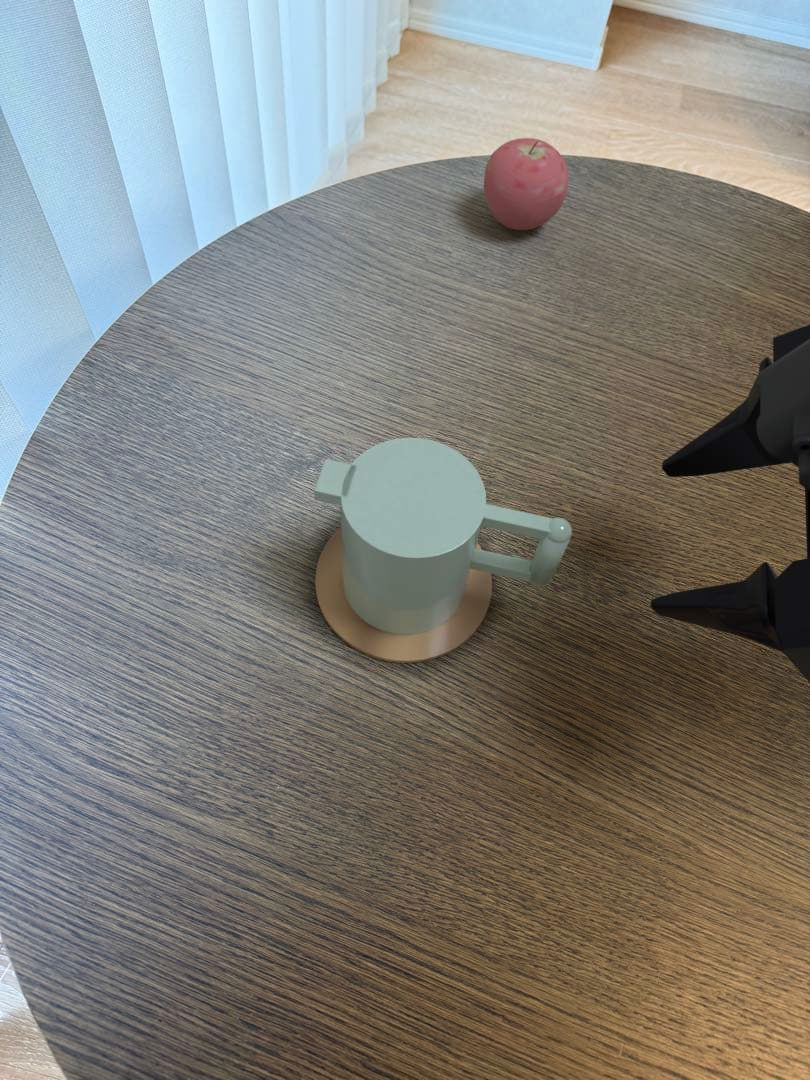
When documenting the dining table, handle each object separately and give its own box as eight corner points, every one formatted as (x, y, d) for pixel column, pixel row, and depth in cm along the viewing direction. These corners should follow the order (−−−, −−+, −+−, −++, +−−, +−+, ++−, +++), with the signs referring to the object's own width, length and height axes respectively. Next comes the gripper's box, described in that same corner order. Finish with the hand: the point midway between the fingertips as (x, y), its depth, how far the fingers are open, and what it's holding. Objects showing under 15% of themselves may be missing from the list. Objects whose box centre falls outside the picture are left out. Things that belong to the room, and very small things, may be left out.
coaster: (510, 536, 58) (511, 533, 58) (463, 687, 52) (464, 685, 52) (351, 488, 60) (351, 485, 60) (288, 629, 54) (287, 627, 53)
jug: (307, 614, 54) (298, 530, 45) (340, 510, 58) (338, 416, 50) (530, 665, 53) (566, 590, 44) (547, 556, 57) (583, 468, 49)
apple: (537, 190, 79) (555, 110, 73) (569, 239, 76) (590, 160, 69) (466, 202, 78) (477, 121, 71) (494, 253, 74) (509, 173, 67)
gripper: (922, 181, 35) (601, 320, 46) (982, 537, 26) (558, 612, 36) (987, 350, 42) (692, 439, 52) (1055, 688, 32) (676, 716, 42)
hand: (659, 535), depth 45 cm, fingers open, 9 cm apart
